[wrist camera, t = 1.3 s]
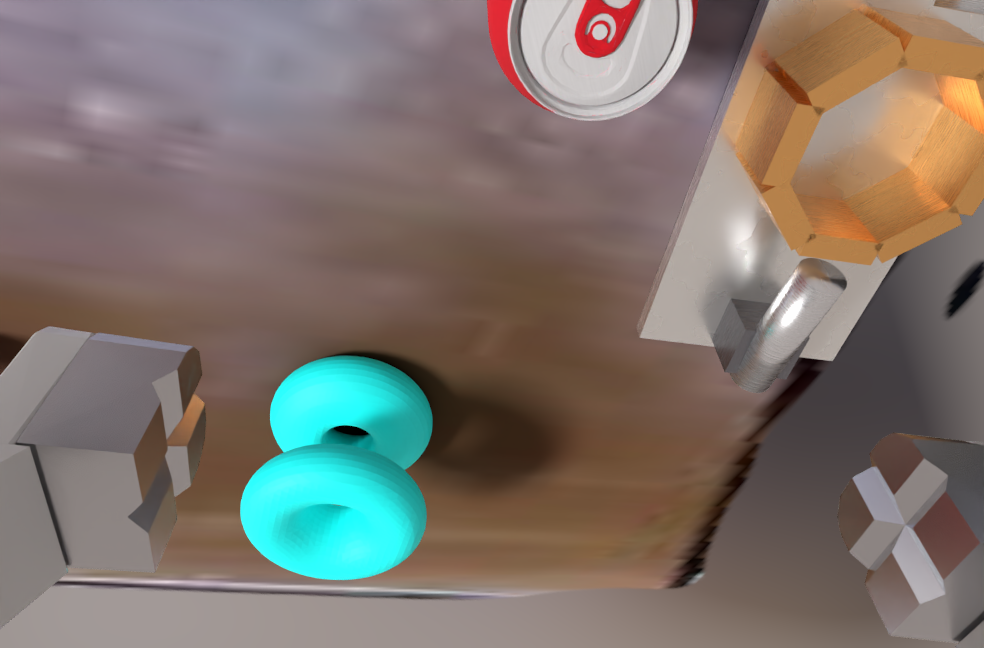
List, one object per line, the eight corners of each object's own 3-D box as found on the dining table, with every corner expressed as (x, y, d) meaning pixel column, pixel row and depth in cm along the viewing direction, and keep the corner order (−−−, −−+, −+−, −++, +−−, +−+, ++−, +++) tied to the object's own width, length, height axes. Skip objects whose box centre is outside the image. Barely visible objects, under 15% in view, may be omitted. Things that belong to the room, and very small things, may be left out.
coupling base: (872, -299, 25) (963, -312, 20) (1174, -227, 26) (1324, -224, 21) (635, 328, 42) (655, 398, 37) (825, 351, 43) (866, 422, 39)
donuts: (400, 601, 42) (226, 574, 40) (412, 468, 50) (267, 440, 47) (446, 499, 36) (244, 461, 34) (452, 366, 44) (287, 329, 42)
